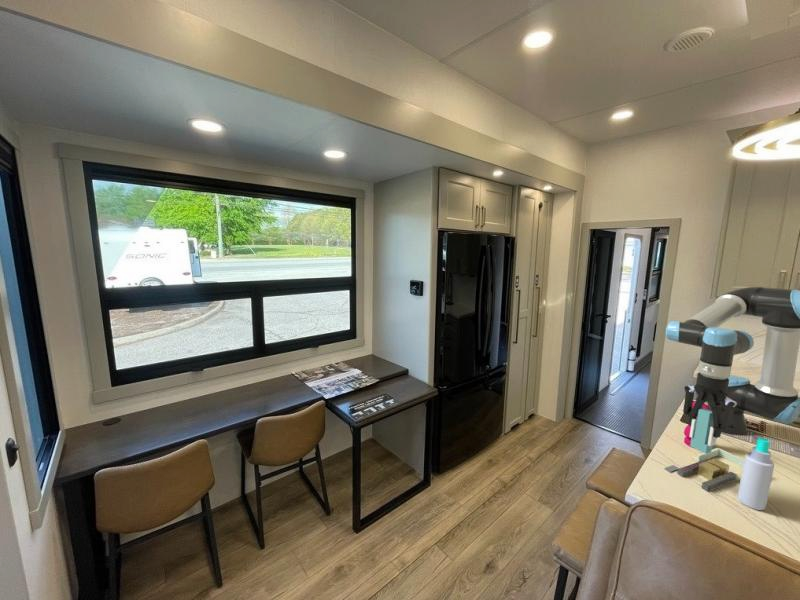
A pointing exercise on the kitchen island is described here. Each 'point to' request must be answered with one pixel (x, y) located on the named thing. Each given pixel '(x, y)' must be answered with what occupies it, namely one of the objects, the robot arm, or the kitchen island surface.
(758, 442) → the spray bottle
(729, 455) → the pale green l-shape
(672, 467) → the mat
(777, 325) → the robot arm
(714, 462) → the olive cube
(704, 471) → the olive yellow cube
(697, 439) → the teal rectangular block
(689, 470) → the channel
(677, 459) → the kitchen island surface
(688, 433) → the pepper mill
